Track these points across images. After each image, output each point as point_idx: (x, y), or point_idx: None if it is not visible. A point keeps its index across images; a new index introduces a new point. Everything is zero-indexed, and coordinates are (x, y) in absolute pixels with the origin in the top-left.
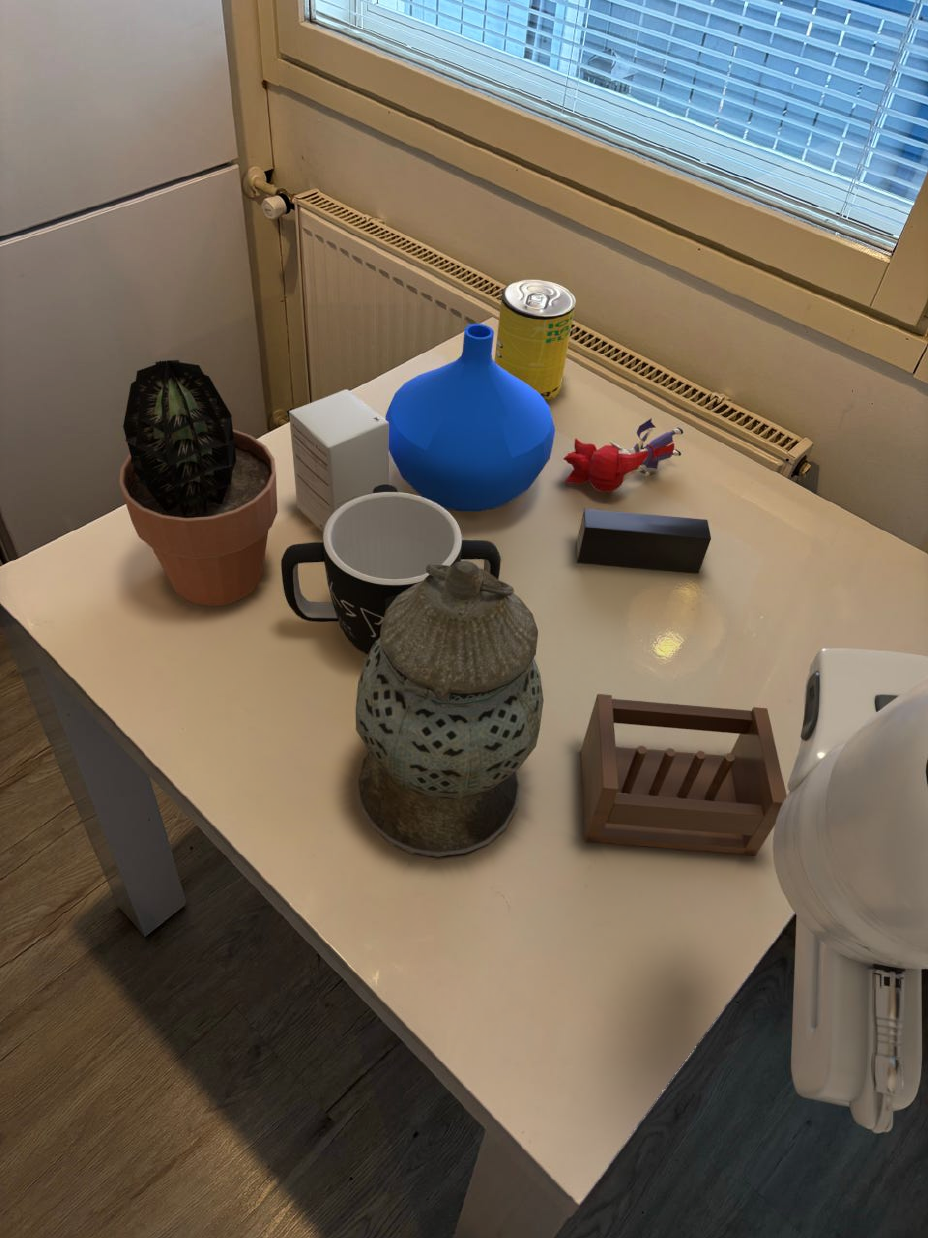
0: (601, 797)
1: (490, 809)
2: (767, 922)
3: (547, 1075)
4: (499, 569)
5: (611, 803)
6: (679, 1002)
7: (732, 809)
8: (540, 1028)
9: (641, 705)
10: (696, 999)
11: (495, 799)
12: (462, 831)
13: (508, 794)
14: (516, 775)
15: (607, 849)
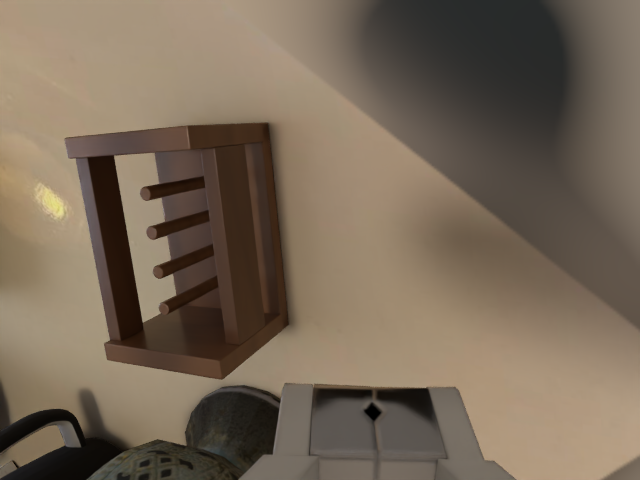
0: (235, 367)
1: (273, 436)
2: (350, 115)
3: (571, 407)
4: (2, 436)
5: (240, 348)
6: (467, 241)
7: (214, 192)
8: (514, 406)
9: (107, 304)
10: (461, 219)
11: (261, 431)
12: None
13: (253, 409)
14: (230, 391)
15: (293, 301)
